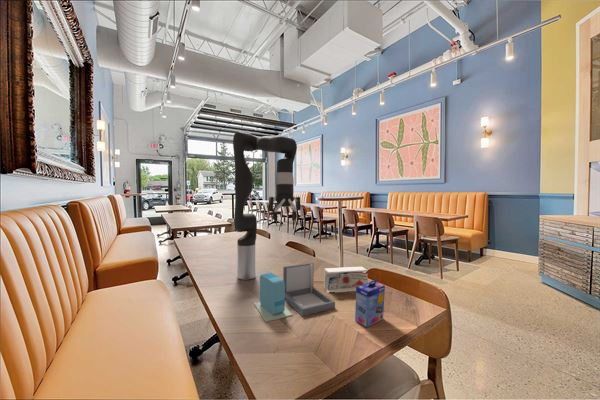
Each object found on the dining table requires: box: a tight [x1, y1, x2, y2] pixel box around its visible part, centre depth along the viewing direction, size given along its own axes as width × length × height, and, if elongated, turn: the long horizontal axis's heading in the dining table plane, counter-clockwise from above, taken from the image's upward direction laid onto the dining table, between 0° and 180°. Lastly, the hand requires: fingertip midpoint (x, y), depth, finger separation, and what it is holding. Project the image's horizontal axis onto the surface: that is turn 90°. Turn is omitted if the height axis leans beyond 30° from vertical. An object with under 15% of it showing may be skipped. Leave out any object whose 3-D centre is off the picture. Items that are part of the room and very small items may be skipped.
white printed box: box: [323, 266, 369, 294], centre depth 113 cm, size 20×6×9 cm, turn 101°
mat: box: [253, 301, 293, 323], centre depth 92 cm, size 15×10×1 cm, turn 26°
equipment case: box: [282, 262, 336, 317], centre depth 98 cm, size 18×14×13 cm
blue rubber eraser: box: [259, 272, 286, 315], centre depth 92 cm, size 12×4×12 cm, turn 34°
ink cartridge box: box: [354, 278, 386, 328], centre depth 85 cm, size 10×6×14 cm, turn 128°
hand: (284, 220), depth 107 cm, fingers open, 8 cm apart
